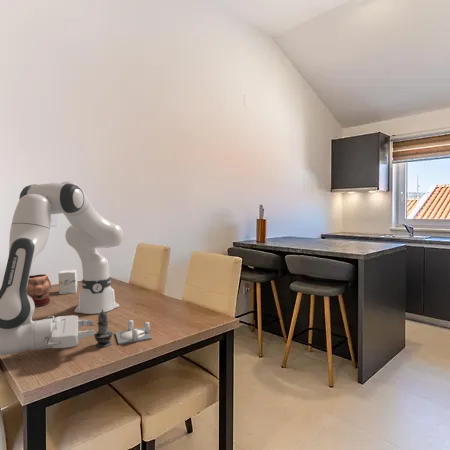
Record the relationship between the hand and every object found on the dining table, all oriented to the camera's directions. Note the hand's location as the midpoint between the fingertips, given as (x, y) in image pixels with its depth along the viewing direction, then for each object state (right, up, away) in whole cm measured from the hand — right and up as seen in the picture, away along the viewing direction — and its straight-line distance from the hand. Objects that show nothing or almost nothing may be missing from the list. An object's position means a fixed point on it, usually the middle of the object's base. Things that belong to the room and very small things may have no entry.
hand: (93, 326), depth 112 cm
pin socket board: (+11, -6, +8) cm, 15 cm away
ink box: (-43, -3, +74) cm, 86 cm away
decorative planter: (-47, -5, +52) cm, 71 cm away
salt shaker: (+3, -7, +1) cm, 7 cm away
